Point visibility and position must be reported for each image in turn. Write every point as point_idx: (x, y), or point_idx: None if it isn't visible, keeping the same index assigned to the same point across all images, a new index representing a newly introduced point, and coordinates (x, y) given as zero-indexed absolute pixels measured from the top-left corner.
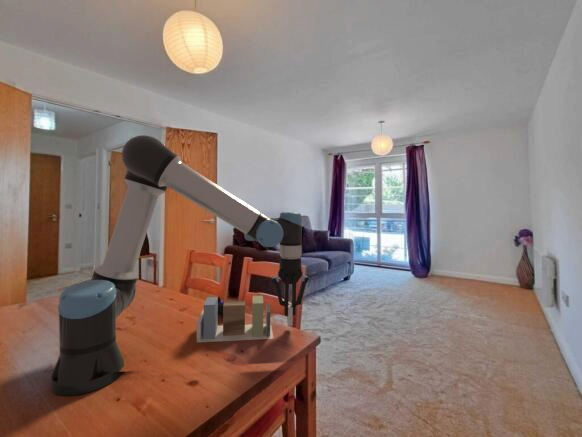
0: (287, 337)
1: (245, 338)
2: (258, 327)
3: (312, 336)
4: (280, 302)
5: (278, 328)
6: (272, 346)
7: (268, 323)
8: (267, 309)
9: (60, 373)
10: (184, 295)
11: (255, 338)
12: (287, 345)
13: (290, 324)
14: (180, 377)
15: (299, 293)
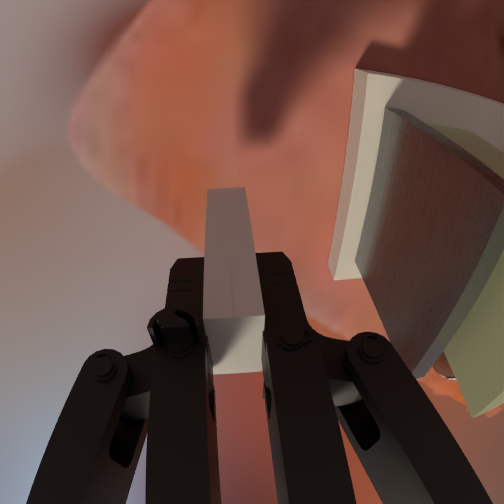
0: (247, 134)
1: (499, 121)
2: (480, 150)
3: (77, 148)
4: (391, 365)
5: (286, 254)
6: (366, 28)
7: (449, 143)
8: (490, 269)
9: None
10: (466, 404)
11: (463, 104)
12: (263, 20)
13: (225, 195)
14: None
15: (98, 501)
